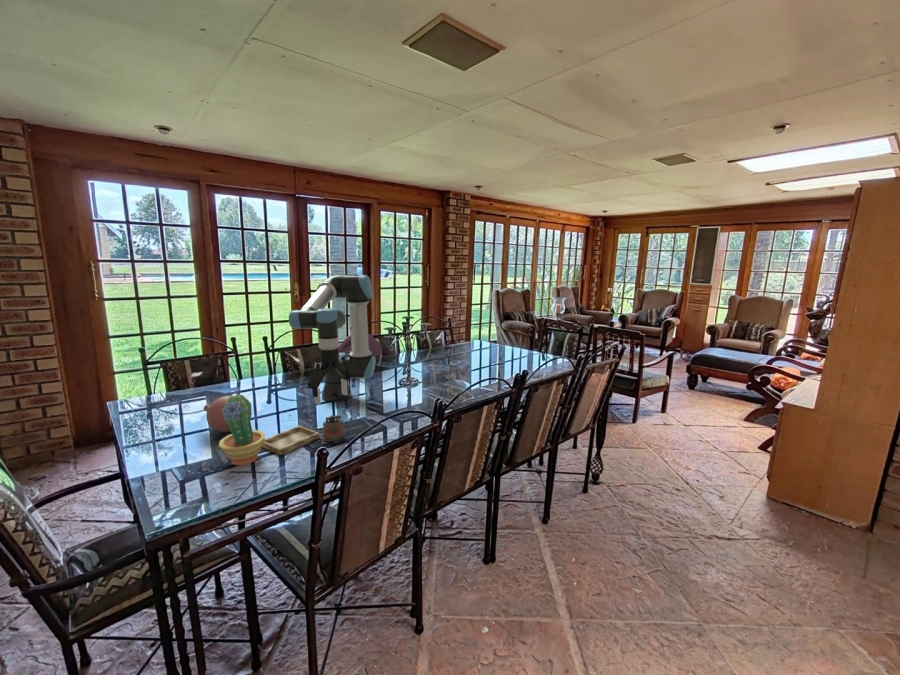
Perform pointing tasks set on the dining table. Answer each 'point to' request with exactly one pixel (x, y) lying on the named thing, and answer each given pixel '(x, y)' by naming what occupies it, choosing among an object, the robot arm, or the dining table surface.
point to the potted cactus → (240, 432)
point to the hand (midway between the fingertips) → (331, 399)
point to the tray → (289, 440)
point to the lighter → (333, 428)
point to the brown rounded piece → (217, 415)
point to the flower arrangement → (373, 344)
